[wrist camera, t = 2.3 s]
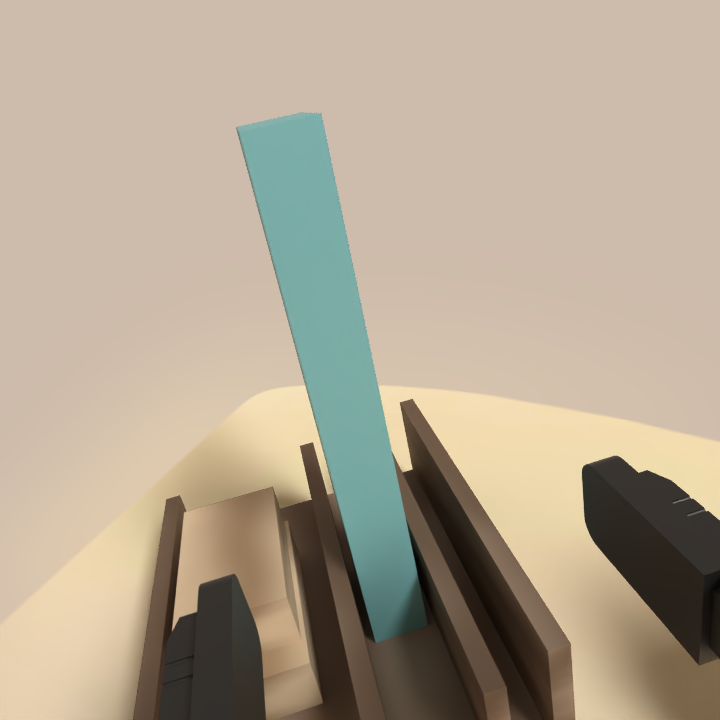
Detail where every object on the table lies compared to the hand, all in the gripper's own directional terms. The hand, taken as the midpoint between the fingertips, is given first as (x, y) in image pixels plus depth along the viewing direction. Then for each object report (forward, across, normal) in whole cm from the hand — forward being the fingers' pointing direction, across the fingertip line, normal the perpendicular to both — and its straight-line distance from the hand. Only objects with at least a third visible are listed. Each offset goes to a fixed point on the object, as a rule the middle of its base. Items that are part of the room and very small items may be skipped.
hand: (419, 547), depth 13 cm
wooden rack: (+12, +3, +15) cm, 19 cm away
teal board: (+12, 0, +13) cm, 18 cm away
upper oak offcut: (+12, +7, +11) cm, 17 cm away
